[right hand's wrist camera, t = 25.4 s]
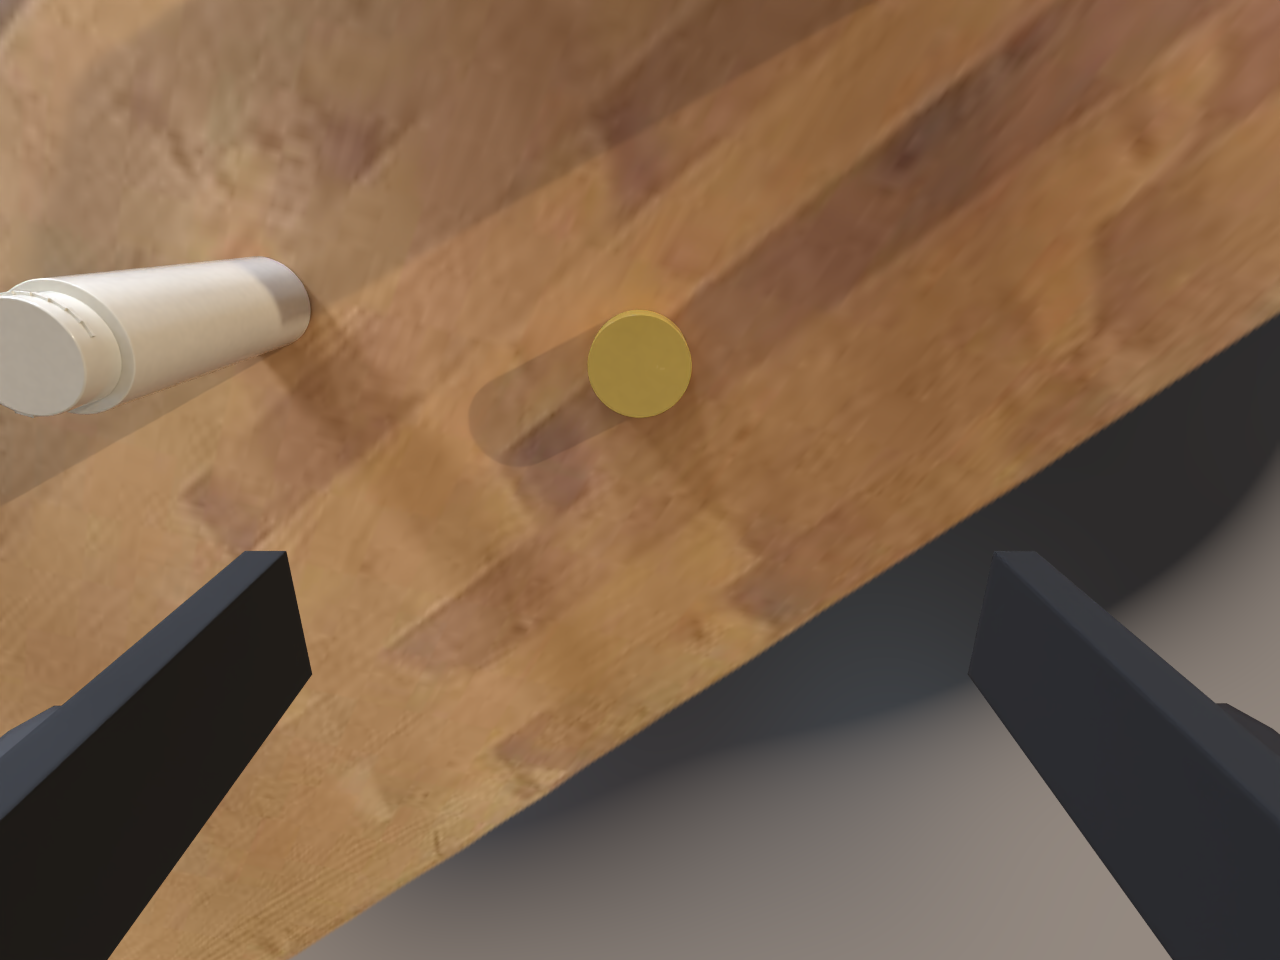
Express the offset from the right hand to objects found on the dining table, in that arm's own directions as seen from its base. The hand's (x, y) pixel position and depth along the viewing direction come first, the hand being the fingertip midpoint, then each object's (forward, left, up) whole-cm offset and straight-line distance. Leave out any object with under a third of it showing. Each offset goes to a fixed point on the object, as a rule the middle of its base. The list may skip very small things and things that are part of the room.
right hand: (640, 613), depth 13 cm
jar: (-10, -17, -26) cm, 33 cm away
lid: (0, 0, -24) cm, 24 cm away
